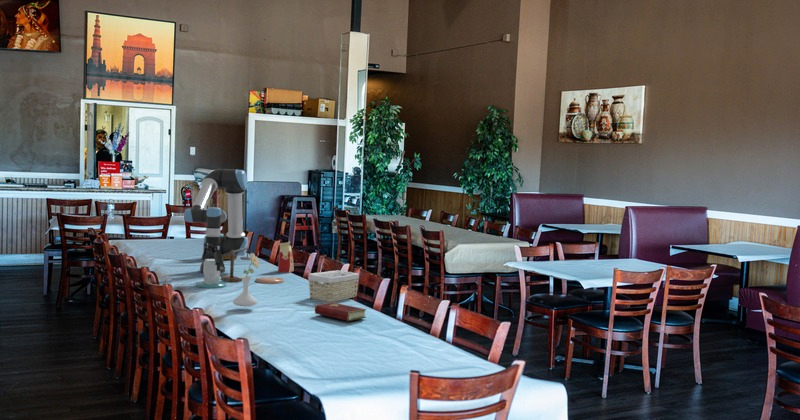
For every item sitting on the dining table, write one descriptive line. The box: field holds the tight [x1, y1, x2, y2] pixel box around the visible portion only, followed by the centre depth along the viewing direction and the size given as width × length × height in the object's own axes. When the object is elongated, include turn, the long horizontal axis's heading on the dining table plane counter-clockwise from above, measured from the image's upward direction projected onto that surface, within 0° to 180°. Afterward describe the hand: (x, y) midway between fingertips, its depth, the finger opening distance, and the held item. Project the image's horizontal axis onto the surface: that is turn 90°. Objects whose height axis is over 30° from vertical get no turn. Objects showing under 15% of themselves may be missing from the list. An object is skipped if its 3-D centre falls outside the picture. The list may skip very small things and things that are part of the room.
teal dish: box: [195, 281, 227, 289], centre depth 390 cm, size 16×16×1 cm
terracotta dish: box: [255, 276, 285, 285], centre depth 415 cm, size 16×16×1 cm
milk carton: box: [277, 241, 295, 274], centre depth 451 cm, size 9×9×20 cm
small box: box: [203, 259, 220, 285], centre depth 389 cm, size 8×6×13 cm
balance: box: [220, 246, 251, 283], centre depth 411 cm, size 12×27×19 cm, turn 131°
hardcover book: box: [314, 301, 367, 322], centre depth 330 cm, size 12×21×4 cm, turn 52°
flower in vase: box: [232, 252, 261, 307], centre depth 339 cm, size 13×11×25 cm
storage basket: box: [308, 269, 360, 303], centre depth 375 cm, size 24×16×15 cm
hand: (211, 275), depth 389 cm, fingers open, 13 cm apart
